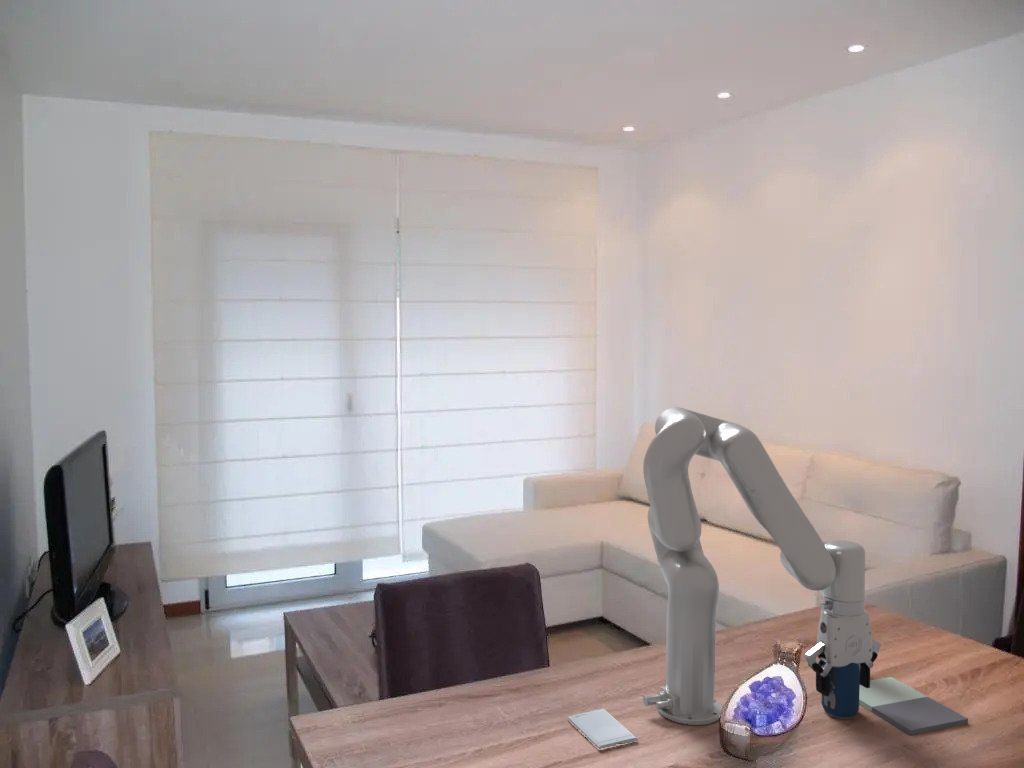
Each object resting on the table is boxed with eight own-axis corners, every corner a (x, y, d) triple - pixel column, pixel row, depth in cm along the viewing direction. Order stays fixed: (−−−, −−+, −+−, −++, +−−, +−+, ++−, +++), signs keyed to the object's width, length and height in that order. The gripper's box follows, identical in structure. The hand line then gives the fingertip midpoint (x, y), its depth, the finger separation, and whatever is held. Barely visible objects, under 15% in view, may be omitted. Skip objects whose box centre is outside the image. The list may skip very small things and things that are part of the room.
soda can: (860, 708, 170) (862, 650, 169) (856, 723, 164) (858, 663, 163) (823, 701, 173) (825, 644, 172) (818, 715, 167) (820, 656, 166)
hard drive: (567, 716, 165) (599, 745, 153) (604, 708, 168) (637, 736, 157) (567, 724, 165) (599, 754, 154) (604, 716, 168) (637, 745, 157)
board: (910, 735, 159) (910, 730, 159) (837, 690, 178) (837, 686, 178) (968, 723, 163) (968, 718, 163) (890, 681, 182) (891, 676, 182)
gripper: (819, 617, 160) (819, 704, 162) (893, 605, 166) (892, 690, 167) (794, 604, 167) (794, 688, 169) (866, 593, 173) (865, 675, 174)
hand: (842, 689), depth 168 cm, fingers open, 9 cm apart
